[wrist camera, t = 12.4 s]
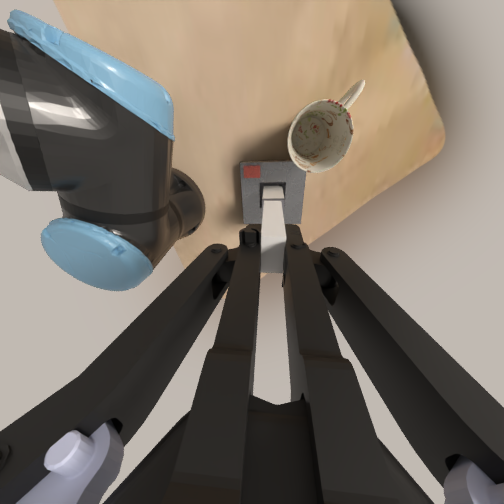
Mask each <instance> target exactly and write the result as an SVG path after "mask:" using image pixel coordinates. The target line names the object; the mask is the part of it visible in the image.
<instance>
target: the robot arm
mask: <svg viewBox="0 0 504 504" xmlns="http://www.w3.org/2000/svg"><path fill="white" fill-rule="evenodd" d="M7 22H8V25H9V27H10V29H12V30H14V33H15V34H14V33H11V32H7V31H4V30H2V29H0V175H2V176H4V177H6V178H7V179H9V180H11V181H13V182H14V183H16V184H18V185H20V186H21V187H23V188H25V189H27V190H29V191H57V193H58V196H59V200H60V204H61V208H62V212H63V217H62V218H58V219H55V220H52V221H51V222H50V223H49V225H48V226H47V228H45V229H44V230H43V231H42V233H41V242H42V245H43V248H44V250H45V251H46V253H47V254H48V256H49V257H50V258H51V259H52V260H53V261H54V262H55V263H56V264H57V265H58V266H59V267H60V268H61V269H63V270H64V271H65V272H67V273H68V274H70V275H72V276H73V277H74V278H76V279H78V280H80V281H82V282H84V283H86V284H88V285H91V286H94V287H97V288H100V289H104V290H110V291H124V290H128V289H131V288H135V287H136V286H138V285H139V284H140V283H141V282H142V281H143V280H145V279H146V278H147V277H148V276H149V275H150V274H151V273H152V272H153V269H154V268H155V267H156V266H157V264H158V263H159V262H160V260H161V259H162V258H163V257H164V256H165V255H166V253H167V252H168V251H169V249H170V248H171V247H172V246H173V245H174V243H175V242H176V241H177V240H179V239H181V238H184V237H186V236H189V235H191V234H192V233H193V232H195V231H196V230H197V228H198V227H199V226H200V224H201V223H202V221H203V219H204V216H205V202H204V198H203V195H202V193H201V191H200V189H199V188H198V186H197V185H196V184H195V182H194V181H193V180H192V179H191V178H190V177H188V176H187V175H186V174H184V173H183V172H181V171H179V170H177V169H174V168H171V167H172V153H173V141H175V137H174V135H173V115H174V108H173V102H172V99H171V97H170V95H169V93H168V92H167V91H166V89H165V88H164V87H163V86H162V85H160V84H159V83H158V82H156V81H155V80H153V79H151V78H150V77H148V76H146V75H145V74H143V73H141V72H140V71H138V70H136V69H134V68H133V67H131V66H129V65H127V64H125V63H124V62H122V61H120V60H118V59H116V58H114V57H113V56H111V55H109V54H107V53H105V52H103V51H101V50H99V49H98V48H96V47H94V46H92V45H90V44H88V43H86V42H84V41H82V40H80V39H78V38H76V37H74V36H72V35H70V34H68V33H64V32H63V31H61V30H59V29H57V28H55V27H53V26H51V25H49V24H47V23H45V22H43V21H42V20H40V19H38V18H36V17H34V16H32V15H29V14H27V13H25V12H22V11H20V10H13V11H11V12H10V18H9V19H8V20H7ZM239 238H240V245H239V247H237V248H234V249H229V250H228V249H227V246H225V245H223V244H213V245H210V246H208V247H207V248H206V249H205V250H204V251H203V252H202V253H201V254H200V255H199V256H198V257H197V258H196V259H195V260H194V261H193V262H192V263H191V264H190V265H189V266H188V267H187V268H186V269H185V270H184V271H183V272H182V273H181V274H180V275H179V276H178V277H177V278H176V279H175V280H174V281H173V282H172V283H171V284H170V285H169V286H168V287H167V288H166V289H165V290H164V291H163V292H162V293H161V294H160V295H159V296H158V297H157V298H156V299H155V300H154V301H153V302H152V303H151V304H150V305H149V306H148V307H147V308H146V309H145V310H144V311H143V312H142V313H141V314H140V315H139V316H138V317H137V318H136V319H135V320H134V321H133V322H132V323H131V324H130V325H129V326H128V327H127V328H126V329H125V330H124V331H123V332H122V333H121V334H120V335H119V336H118V337H117V338H116V339H115V340H114V341H113V342H112V343H111V344H110V345H109V346H108V347H107V348H106V349H105V350H104V351H103V352H102V353H101V354H100V355H99V356H98V357H97V358H96V359H95V360H94V361H93V362H92V363H91V364H90V365H89V366H88V367H87V368H86V370H85V371H83V372H82V373H81V374H80V375H79V376H78V377H77V378H75V379H74V380H73V381H71V382H70V383H68V384H67V385H65V386H64V387H63V388H61V389H60V390H59V391H57V392H55V393H54V394H53V395H51V396H50V397H48V398H47V399H46V400H44V401H43V402H41V403H40V404H39V405H37V406H36V407H34V408H33V409H31V410H30V411H29V412H27V413H26V414H25V415H23V416H22V417H20V418H19V419H18V420H16V421H14V422H13V423H12V424H10V425H9V426H7V427H6V428H5V429H3V430H2V431H0V504H99V502H100V500H101V498H102V496H103V495H104V493H105V492H106V490H107V489H108V487H109V486H110V485H111V484H112V483H113V482H114V481H115V479H116V478H117V476H118V474H119V471H120V467H121V463H122V460H123V456H124V446H125V445H126V444H127V443H128V442H129V441H130V440H131V438H132V437H133V436H134V434H135V433H136V432H137V431H138V429H139V428H140V427H141V425H142V424H143V423H144V421H145V420H146V418H147V417H148V415H149V414H150V412H151V411H152V409H153V408H154V406H155V405H156V403H157V402H158V400H159V398H160V396H161V395H162V393H163V392H164V390H165V389H166V387H167V385H168V384H169V382H170V381H171V379H172V377H173V376H174V374H175V372H176V371H177V369H178V368H179V366H180V364H181V363H182V361H183V359H184V358H185V356H186V355H187V353H188V351H189V350H190V348H191V347H192V345H193V343H194V342H195V340H196V338H197V337H198V335H199V334H200V332H201V330H202V329H203V327H204V326H205V324H206V322H207V321H208V319H209V317H210V316H211V314H212V312H213V311H214V309H215V308H216V306H217V305H218V303H219V301H220V300H221V298H222V296H223V295H224V293H225V292H226V290H227V288H228V287H229V288H228V292H227V295H226V299H225V303H224V307H223V311H222V315H221V319H220V323H219V327H218V330H217V334H216V338H215V342H214V345H213V347H212V349H209V350H208V352H207V355H206V358H205V361H204V365H203V368H202V371H201V372H202V373H201V375H200V379H199V382H198V386H197V389H196V393H195V397H194V400H193V404H192V407H191V410H190V411H189V412H188V413H187V414H185V416H183V417H182V418H181V419H180V420H179V421H178V422H177V423H176V424H175V426H174V427H172V429H171V430H170V431H169V432H168V433H167V434H166V435H165V436H164V437H163V438H162V439H161V441H160V442H159V443H158V444H157V445H156V446H155V447H154V448H153V449H152V451H151V452H150V453H149V454H148V455H147V456H146V457H145V458H144V459H143V460H142V461H141V462H140V463H139V465H138V466H137V467H136V468H135V469H134V470H133V471H132V472H131V473H130V474H129V476H128V477H127V478H126V479H125V480H124V481H123V482H122V483H121V484H120V485H119V487H118V488H117V489H116V490H115V491H114V492H113V493H112V494H111V495H110V497H108V498H107V500H106V501H105V502H104V503H103V504H434V503H433V501H432V500H431V499H430V498H429V497H428V496H427V495H426V493H425V492H424V491H423V490H422V489H421V487H420V486H419V485H418V484H417V483H416V482H415V481H414V479H413V478H412V477H411V476H410V475H409V473H408V472H407V471H406V470H405V469H404V468H403V466H402V465H401V464H400V463H399V462H398V461H397V459H396V458H395V457H394V456H393V455H392V453H391V452H390V451H389V450H388V449H387V448H386V446H385V445H384V444H383V443H382V442H381V441H380V440H379V439H378V438H377V435H376V433H375V429H374V426H373V424H372V421H371V418H370V415H369V412H368V409H367V406H366V403H365V400H364V397H363V394H362V391H361V388H360V385H359V382H358V380H357V376H356V374H355V371H354V368H353V366H352V364H351V362H350V361H349V360H348V359H345V358H343V357H342V355H341V352H340V349H339V346H338V343H337V339H336V336H335V333H334V329H333V326H332V323H331V319H330V316H329V313H330V314H331V316H332V317H333V319H334V321H335V322H336V324H337V326H338V327H339V329H340V331H341V332H342V334H343V336H344V337H345V339H346V340H347V342H348V344H349V345H350V347H351V349H352V350H353V352H354V354H355V355H356V357H357V358H358V360H359V362H360V363H361V365H362V367H363V368H364V370H365V372H366V373H367V375H368V376H369V378H370V380H371V381H372V383H373V385H374V386H375V388H376V390H377V391H378V393H379V394H380V396H381V398H382V399H383V401H384V403H385V404H386V406H387V408H388V409H389V411H390V412H391V414H392V416H393V417H394V419H395V421H396V422H397V424H398V426H399V427H400V429H401V431H402V432H403V433H404V435H405V437H406V438H407V440H408V441H409V443H410V444H411V446H412V447H413V449H414V450H415V452H416V453H417V455H418V456H419V457H420V458H421V460H422V461H423V463H424V464H425V465H426V467H427V468H428V469H429V471H430V472H431V473H432V475H433V476H434V477H435V478H436V480H437V481H438V482H439V483H440V484H441V486H442V487H443V488H444V495H445V498H446V499H445V504H504V408H503V407H502V406H501V405H500V404H499V403H498V402H497V401H496V400H495V399H494V398H493V397H492V396H491V395H490V394H489V393H488V392H487V391H486V390H485V389H484V388H483V387H482V386H481V385H480V384H479V383H478V382H477V381H476V380H475V379H474V378H473V377H471V375H470V374H469V373H468V372H466V371H465V369H463V368H462V367H461V366H460V365H459V364H458V363H457V362H456V361H455V360H454V359H453V358H452V357H451V356H450V355H449V354H448V353H447V352H446V351H445V350H444V349H443V348H442V347H441V346H440V345H439V344H438V343H437V342H436V341H435V340H434V339H433V338H432V337H431V336H430V335H429V334H428V333H427V332H426V331H425V330H423V328H422V327H421V326H419V325H418V324H417V323H416V322H415V321H414V320H413V319H412V318H411V317H410V316H409V315H408V314H407V313H406V312H405V311H404V310H403V309H402V308H401V307H400V306H399V305H398V304H397V303H396V302H395V301H394V300H393V299H392V298H391V297H390V296H389V295H387V293H386V292H384V290H383V289H382V288H381V287H379V286H378V284H376V283H375V282H374V281H373V280H372V279H371V278H370V277H369V276H368V275H367V274H366V273H365V272H364V271H363V270H362V269H361V268H360V267H359V266H358V265H357V264H356V263H355V262H354V261H353V260H352V259H351V258H350V257H349V256H348V255H347V254H346V253H345V252H344V251H342V250H340V249H338V248H334V247H327V248H324V249H323V250H322V252H321V253H320V252H315V251H312V250H310V249H309V247H308V245H307V244H306V243H304V242H303V238H302V235H301V232H300V228H299V227H298V226H297V225H292V224H284V217H283V210H282V202H281V201H264V207H263V218H262V224H249V225H248V226H246V228H244V229H242V230H240V232H239ZM260 272H265V273H283V281H282V287H283V288H284V301H285V316H286V328H287V342H288V354H289V355H288V356H289V370H290V383H291V402H289V403H285V404H281V405H275V404H272V403H270V402H267V401H265V400H262V399H260V398H258V397H255V396H253V382H254V367H255V352H256V335H257V320H258V306H259V290H260V289H259V288H260ZM328 311H329V313H328Z"/></svg>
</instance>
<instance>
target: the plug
mask: <svg viewBox="0 0 504 504" xmlns="http://www.w3.org/2000/svg"><path fill="white" fill-rule="evenodd" d="M264 201H281V202H282V210H283V217H284V204H285V199H284V194H283V188H282V186H264V189H263V197H262V218H263V207H264Z"/></svg>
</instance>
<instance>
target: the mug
mask: <svg viewBox="0 0 504 504" xmlns="http://www.w3.org/2000/svg"><path fill="white" fill-rule="evenodd" d="M364 85H365V80H360V81H358V82H357V83H356V84H355V85H353V86H352V87H351V88H350V89H349V90H348V91H347V93H346V94H345V95H344V96H343V97H342V98H341V99H340V100H339V101H338V102H337V101H334V100H330V99H322V100H318V101H315V102H312V103H310V104H309V105H307V106H306V107H304V108H303V109H302V110H301V111H300V112H299V113H298V114H297V116H296V117H295V118H294V120H293V122H292V124H291V126H290V129H289V132H288V137H287V148H288V153H289V155H290V158H291V160H292V161H293V163H294V164H295V165H296V166H297V167H298V168H300V169H301V170H303V171H306V172H310V173H319V172H323V171H326V170H328V169H330V168H332V167H334V166H335V165H336V164H337V163H339V162H340V161H341V160H342V158H343V157H344V156H345V154H346V153H347V151H348V149H349V147H350V145H351V142H352V137H353V122H352V118H351V115H350V113H349V112H348V108H349V107H350V106H351V105H352V104H353V102H354V101H355V100H356V99H357V97H358V96H359V95H360V93H361V91H362V90H363V88H364ZM350 96H351V97H350ZM349 97H350V98H349ZM348 98H349V99H348ZM347 99H348V100H347ZM346 100H347V102H346ZM345 102H346V103H345ZM344 103H345V104H344ZM343 104H344V105H343Z"/></svg>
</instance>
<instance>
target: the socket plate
mask: <svg viewBox="0 0 504 504" xmlns="http://www.w3.org/2000/svg"><path fill="white" fill-rule="evenodd" d="M240 174H241V189H242V204H243V219H244V224H262V197H263V189H264V186H282V188H283V194H284V199H285V204H284V224H301V216H302V206H303V197H304V188H305V179H306V171H303V170H301V169H300V168H298V167H297V166H296V165H295V164H294V163H293V161H292V160H269V161H241V162H240Z"/></svg>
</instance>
